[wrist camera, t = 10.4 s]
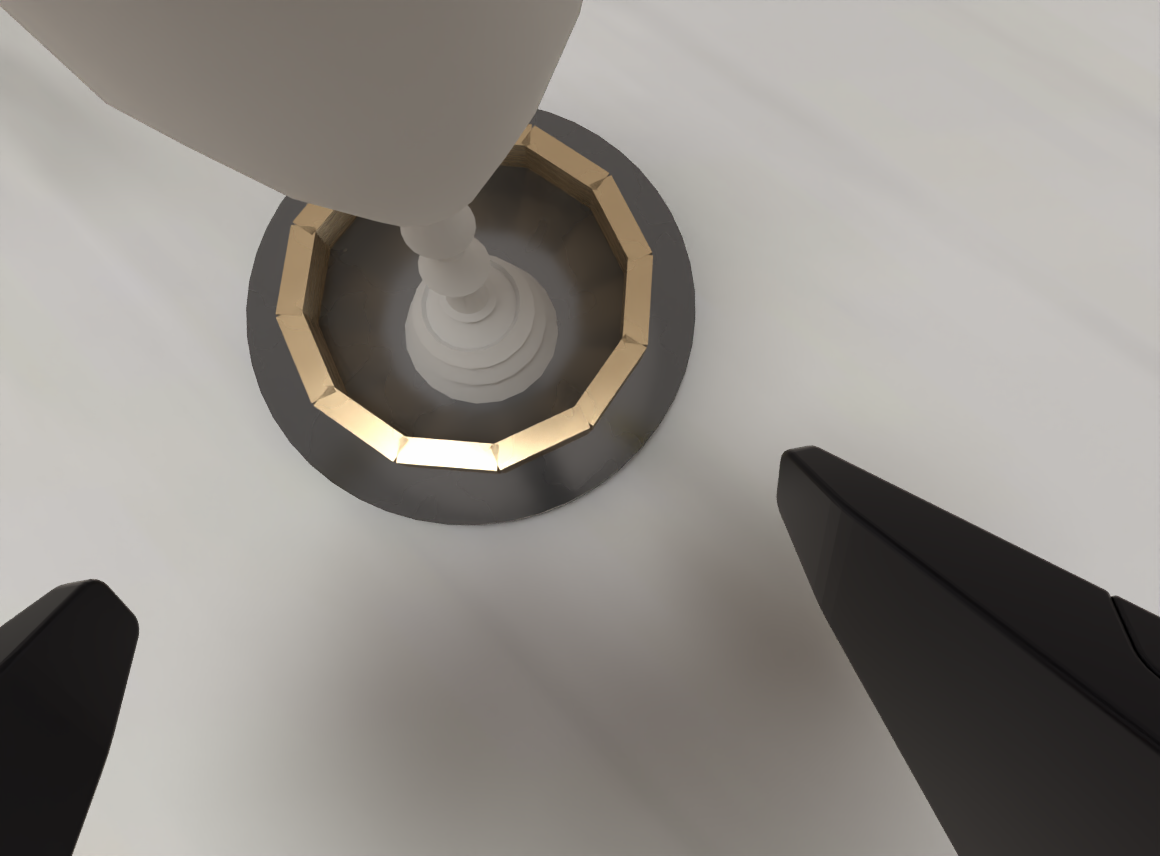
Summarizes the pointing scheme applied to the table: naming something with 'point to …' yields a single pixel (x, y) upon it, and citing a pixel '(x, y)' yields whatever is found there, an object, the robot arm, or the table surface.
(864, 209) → the table surface
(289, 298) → the collar
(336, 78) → the chalice
